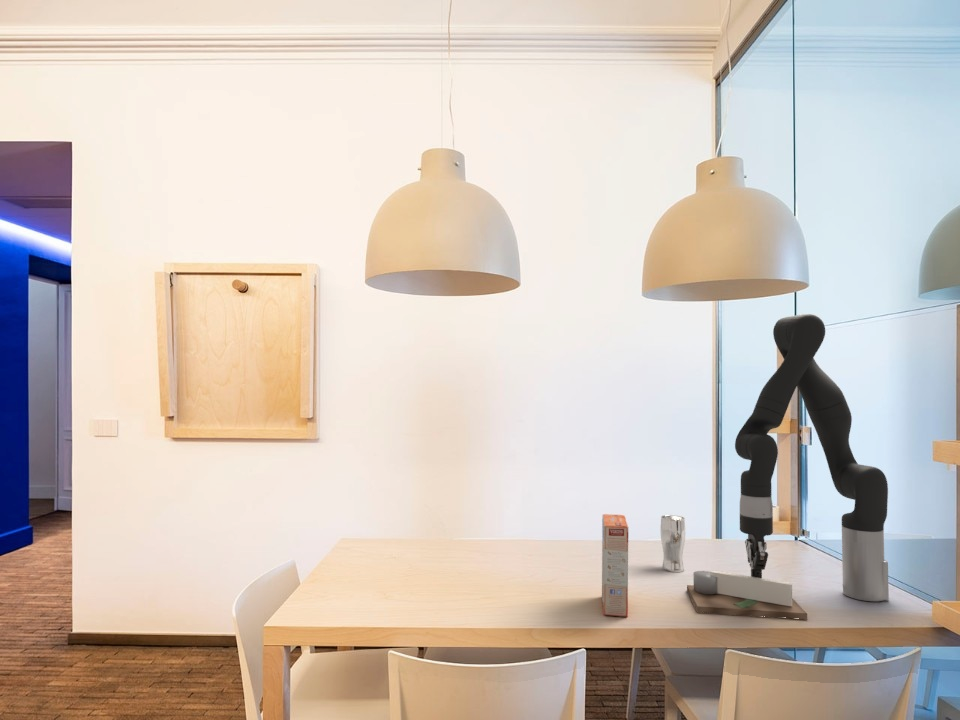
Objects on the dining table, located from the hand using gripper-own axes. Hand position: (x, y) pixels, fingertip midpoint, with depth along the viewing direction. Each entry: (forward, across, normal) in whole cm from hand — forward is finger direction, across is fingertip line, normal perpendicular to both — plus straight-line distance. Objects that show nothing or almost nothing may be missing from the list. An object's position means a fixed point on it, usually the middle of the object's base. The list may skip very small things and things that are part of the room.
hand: (756, 584), depth 154 cm
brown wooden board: (+5, -2, +4) cm, 6 cm away
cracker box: (+5, -10, +34) cm, 36 cm away
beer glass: (+5, +25, +17) cm, 31 cm away
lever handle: (+3, -2, +4) cm, 5 cm away
